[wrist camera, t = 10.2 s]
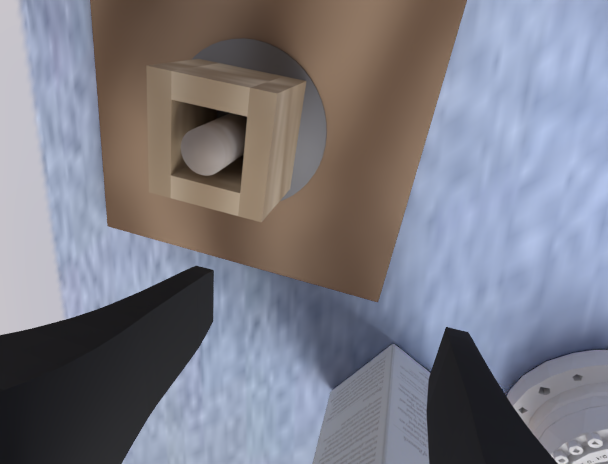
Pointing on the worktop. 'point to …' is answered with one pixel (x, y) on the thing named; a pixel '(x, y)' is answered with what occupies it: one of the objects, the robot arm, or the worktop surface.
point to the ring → (203, 108)
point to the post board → (312, 132)
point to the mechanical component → (567, 406)
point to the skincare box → (378, 414)
